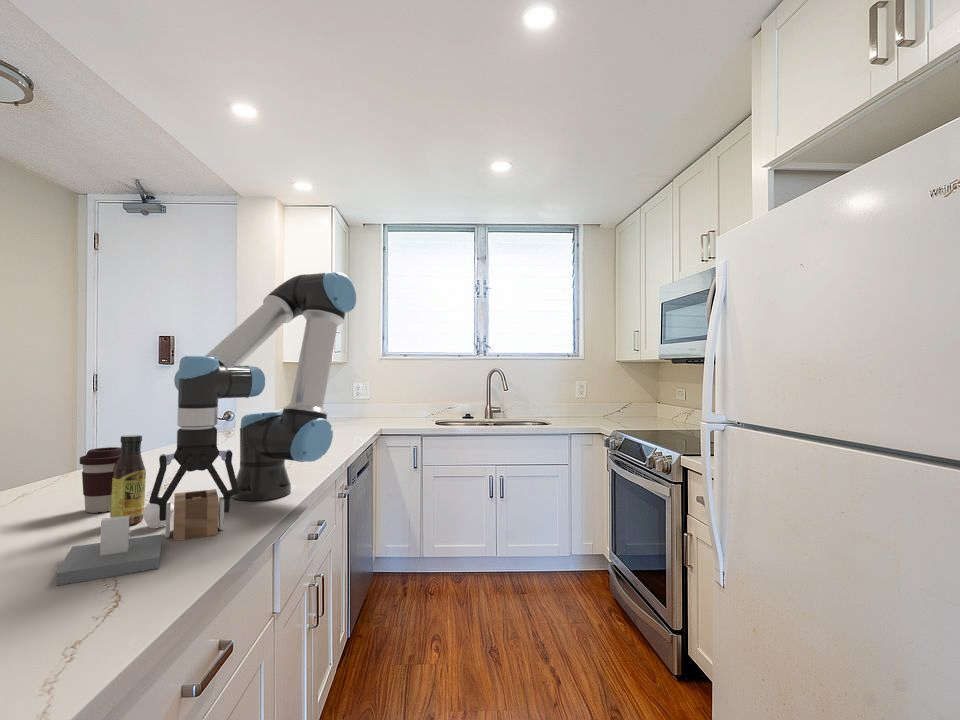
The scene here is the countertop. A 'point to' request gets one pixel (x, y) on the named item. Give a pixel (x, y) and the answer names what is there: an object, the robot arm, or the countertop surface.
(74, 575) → the shaft stand
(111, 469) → the coffee cup
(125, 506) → the sauce bottle
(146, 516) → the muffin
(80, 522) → the countertop surface
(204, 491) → the brown hollow block
